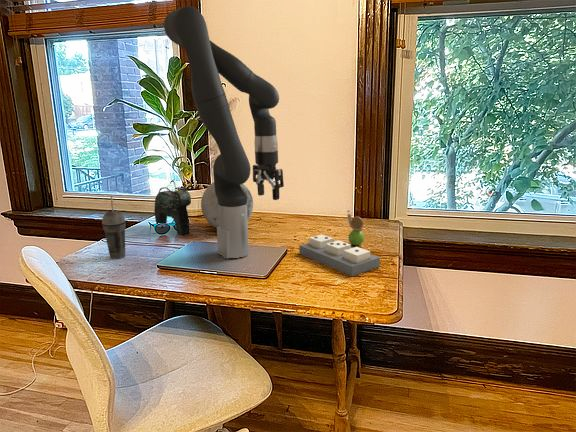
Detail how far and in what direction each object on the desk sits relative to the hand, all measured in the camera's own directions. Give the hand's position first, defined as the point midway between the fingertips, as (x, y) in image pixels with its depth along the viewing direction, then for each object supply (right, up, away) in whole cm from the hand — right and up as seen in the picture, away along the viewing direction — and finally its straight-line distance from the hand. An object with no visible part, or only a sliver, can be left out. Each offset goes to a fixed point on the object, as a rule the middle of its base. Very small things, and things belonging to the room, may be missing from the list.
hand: (268, 197), depth 148 cm
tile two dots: (+18, -16, -3) cm, 24 cm away
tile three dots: (+22, -18, -9) cm, 30 cm away
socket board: (+22, -20, -8) cm, 31 cm away
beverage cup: (-49, -20, -5) cm, 53 cm away
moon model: (-17, -12, +25) cm, 32 cm away
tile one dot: (+27, -19, -15) cm, 37 cm away
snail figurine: (+30, -17, +6) cm, 35 cm away
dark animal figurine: (-38, -12, +23) cm, 46 cm away
